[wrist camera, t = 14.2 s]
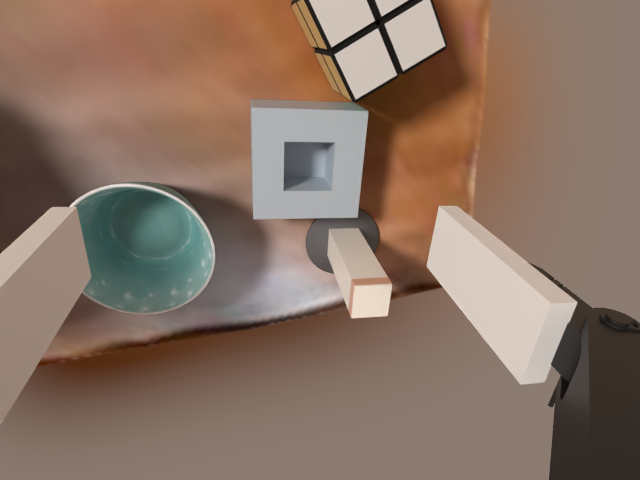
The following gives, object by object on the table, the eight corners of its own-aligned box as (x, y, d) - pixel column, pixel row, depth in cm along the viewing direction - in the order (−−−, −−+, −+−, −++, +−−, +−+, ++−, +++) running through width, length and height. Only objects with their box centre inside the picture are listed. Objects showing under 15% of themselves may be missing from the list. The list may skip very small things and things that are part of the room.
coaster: (304, 273, 57) (304, 275, 57) (307, 206, 52) (307, 208, 52) (373, 270, 59) (374, 272, 58) (381, 206, 54) (382, 207, 54)
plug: (327, 255, 56) (351, 318, 43) (329, 228, 54) (354, 286, 42) (355, 254, 56) (387, 316, 44) (358, 227, 55) (392, 284, 42)
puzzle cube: (373, -52, 41) (409, -75, 32) (410, 44, 46) (450, 47, 37) (288, 2, 42) (301, -6, 33) (333, 91, 47) (354, 105, 38)
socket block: (252, 199, 51) (253, 219, 46) (250, 98, 46) (251, 107, 40) (346, 199, 53) (357, 217, 48) (354, 102, 48) (368, 111, 42)
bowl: (209, 285, 55) (205, 323, 48) (81, 269, 51) (54, 308, 44) (228, 175, 49) (226, 200, 42) (84, 147, 45) (53, 169, 38)
